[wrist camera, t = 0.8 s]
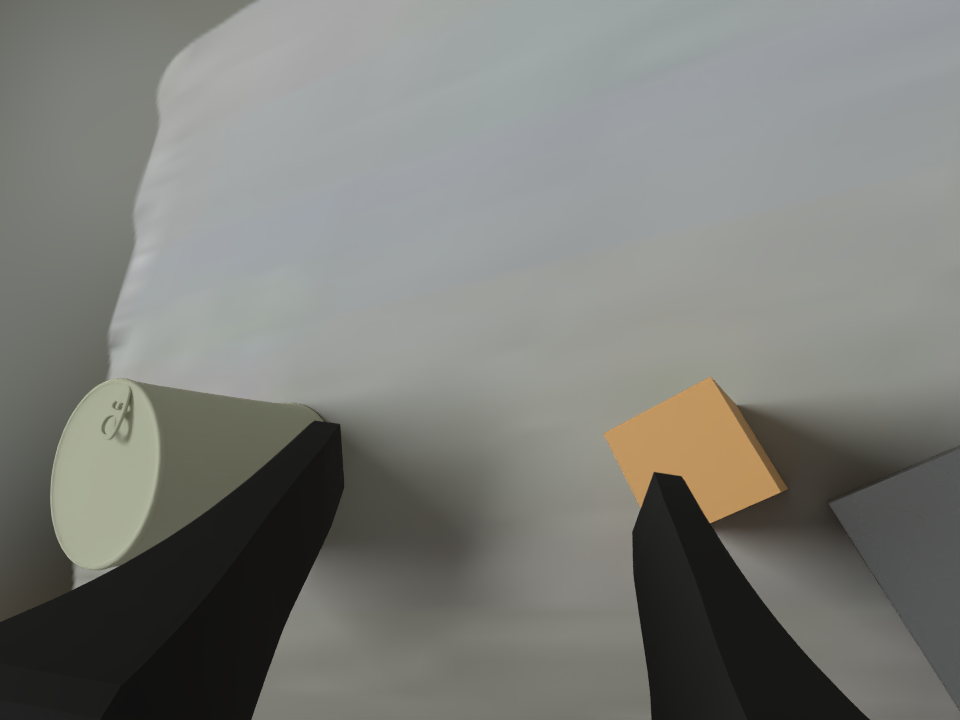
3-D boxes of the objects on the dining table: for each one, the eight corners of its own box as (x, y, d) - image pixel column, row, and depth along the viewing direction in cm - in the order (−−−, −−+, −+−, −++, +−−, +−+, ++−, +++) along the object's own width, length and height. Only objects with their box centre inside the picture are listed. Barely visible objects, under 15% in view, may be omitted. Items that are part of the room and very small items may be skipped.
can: (355, 422, 36) (174, 399, 26) (314, 570, 35) (112, 606, 25) (259, 389, 41) (72, 358, 30) (221, 519, 40) (19, 532, 30)
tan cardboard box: (788, 489, 24) (780, 492, 17) (699, 528, 26) (659, 545, 19) (736, 404, 26) (710, 376, 19) (654, 445, 27) (603, 433, 20)
